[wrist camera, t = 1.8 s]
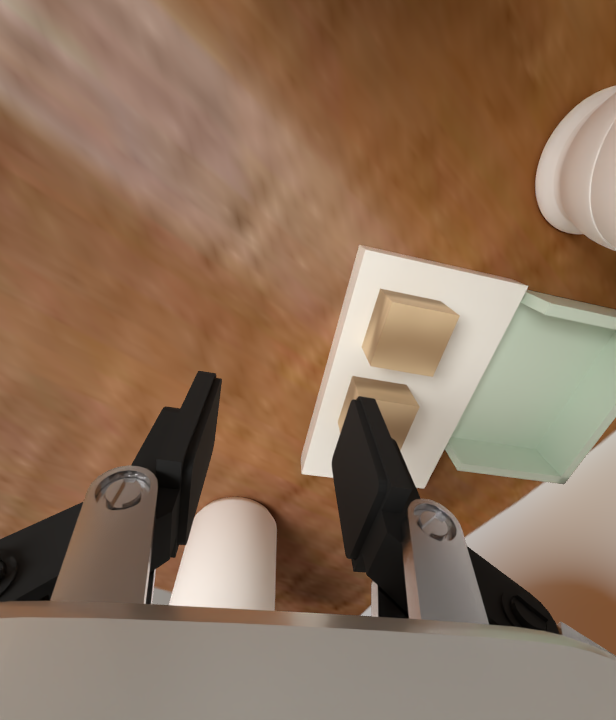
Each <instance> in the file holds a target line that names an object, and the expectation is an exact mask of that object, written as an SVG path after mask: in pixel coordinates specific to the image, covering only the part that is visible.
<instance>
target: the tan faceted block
mask: <svg viewBox="0 0 616 720" xmlns="http://www.w3.org/2000/svg"><path fill="white" fill-rule="evenodd" d="M459 317H460V315H458V314H457V313H456V312H454V311H453V310H452V309H450V308H449V307H448V306H447V305H445V304H444V303H443V302H441V301H438V300H433V299H428V298H424V297H419V296H414V295H409V294H404V293H400V292H395V291H390V290H385V289H380V291H379V294H378V297H377V300H376V303H375V306H374V309H373V313H372V316H371V319H370V322H369V325H368V328H367V331H366V335H365V338H364V341H363V344H362V349H363V351H364V353H365V356H366V358H367V360H368V362H369V364H370V366H372V367H378V368H384V369H389V370H395V371H401V372H407V373H413V374H418V375H424V376H430V377H433V376H434V373H435V371H436V369H437V367H438V364H439V362H440V360H441V357H442V355H443V353H444V351H445V348H446V346H447V344H448V342H449V339H450V337H451V335H452V333H453V330H454V328H455V326H456V323H457V321H458V319H459Z"/></svg>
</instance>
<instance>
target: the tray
mask: <svg viewBox="0 0 616 720" xmlns="http://www.w3.org/2000/svg"><path fill="white" fill-rule="evenodd" d="M615 417H616V309H611V308H607V307H602V306H598V305H593V304H589V303H584V302H580V301H575V300H571V299H566V298H562V297H558V296H553V295H549V294H544V293H540V292H535V291H531V290H526V292H525V294H524V296H523V298H522V300H521V302H520V304H519V306H518V308H517V310H516V311H515V313H514V315H513V317H512V319H511V321H510V323H509V325H508V327H507V329H506V331H505V333H504V335H503V337H502V339H501V341H500V343H499V344H498V346H497V348H496V350H495V352H494V354H493V356H492V358H491V360H490V362H489V364H488V366H487V368H486V370H485V372H484V374H483V375H482V377H481V379H480V381H479V383H478V385H477V387H476V389H475V391H474V393H473V395H472V397H471V399H470V401H469V403H468V405H467V406H466V408H465V410H464V412H463V414H462V416H461V418H460V420H459V422H458V424H457V426H456V428H455V430H454V432H453V434H452V436H451V438H450V439H449V441H448V443H447V445H446V447H445V450H446V452H447V454H448V455H449V457H450V459H451V460H452V462H453V464H454V465H455V467H456V469H457V470H458V471H466V472H474V473H481V474H489V475H497V476H505V477H512V478H520V479H528V480H535V481H543V482H552V483H559V484H565V483H566V481H567V480H568V479H569V477H570V476H571V475H572V474H573V472H574V471H575V470H576V468H577V467H578V465H579V464H580V463H581V462H582V460H583V459H584V458H585V456H586V455H587V454H588V453H589V451H590V450H591V449H592V447H593V446H594V445H595V444H596V442H597V441H598V440H599V438H600V437H601V436H602V434H603V433H604V432H605V430H606V429H607V428H608V427H609V425H610V424H611V423H612V421H613V420H614V419H615Z"/></svg>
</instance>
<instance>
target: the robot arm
mask: <svg viewBox="0 0 616 720" xmlns="http://www.w3.org/2000/svg"><path fill="white" fill-rule="evenodd" d="M221 383H222V379H219V378H216V373H209V372H203V371H198V373H197V375H196V377H195V379H194V381H193V383H192V385H191V388H190V390H189V392H188V394H187V396H186V398H185V400H184V402H183V404H182V406H181V409H179V408H172V407H164V408H163V409H162V411H161V413H160V414H159V416H158V418H157V420H156V422H155V423H154V425H153V427H152V429H151V431H150V433H149V434H148V436H147V438H146V440H145V442H144V443H143V445H142V447H141V449H140V451H139V452H138V454H137V456H136V458H135V460H134V461H133V463H132V465H131V466H122V467H117V468H114V469H111V470H109V471H107V472H105V473H103V474H102V475H100V476H99V477H97V478H96V479H95V480H94V481H93V482H92V483H91V485H90V487H89V489H88V490H87V493H86V496H85V499H84V502H82V503H80V504H78V505H75V506H73V507H71V508H69V509H66V510H64V511H62V512H60V513H58V514H55V515H53V516H51V517H49V518H47V519H44V520H42V521H40V522H38V523H36V524H33V525H31V526H29V527H27V528H24V529H22V530H20V531H18V532H16V533H13V534H11V535H9V536H7V537H5V538H2V539H0V720H616V656H615V655H613V654H612V653H610V652H609V651H607V650H605V649H604V648H602V647H601V646H599V645H597V644H596V643H594V642H593V641H591V640H590V639H588V638H586V637H585V636H583V635H581V634H580V633H578V632H577V631H575V630H574V629H572V628H570V627H569V626H567V625H566V624H564V623H562V622H560V623H559V624H558V625H556V623H555V621H554V620H553V618H552V616H551V615H550V613H549V612H548V611H547V609H546V608H545V607H544V606H543V605H542V604H541V602H539V601H538V600H537V599H536V598H535V597H533V595H531V594H530V593H529V592H527V591H526V590H525V589H523V588H522V587H521V586H519V585H518V584H517V583H515V582H514V581H513V580H511V579H510V578H509V577H507V576H506V575H505V574H503V573H502V572H501V571H499V570H498V569H497V568H495V567H494V566H493V565H491V564H490V563H489V562H487V561H486V560H485V559H483V558H482V557H481V556H479V555H478V554H477V553H475V552H474V551H473V550H471V549H470V548H469V547H467V545H466V542H465V538H464V535H463V531H462V528H461V526H460V524H459V522H458V520H457V519H456V518H455V516H454V515H453V514H452V513H451V512H450V511H449V510H448V509H447V508H445V507H444V506H442V505H440V504H439V503H437V502H434V501H432V500H428V499H421V498H420V496H419V494H418V491H417V489H416V487H415V484H414V482H413V480H412V477H411V475H410V472H409V470H408V468H407V465H406V463H405V461H404V458H403V456H402V454H401V451H400V449H399V447H398V444H397V442H396V441H395V440H394V439H393V438H391V436H390V433H389V431H388V428H387V426H386V424H385V421H384V419H383V416H382V414H381V412H380V409H379V407H378V404H377V402H376V400H375V399H374V398H368V397H362V396H358V397H357V399H356V400H354V399H353V400H352V401H351V403H350V405H349V409H348V412H347V415H346V418H345V421H344V424H343V427H342V430H341V433H340V436H339V439H338V442H337V445H336V448H335V451H334V454H333V457H332V473H333V479H334V485H335V492H336V498H337V504H338V510H339V517H340V523H341V529H342V536H343V542H344V548H345V554H346V557H347V558H348V559H352V565H353V571H354V572H366V575H367V576H369V577H370V578H371V579H372V584H371V608H372V616H355V615H338V614H321V613H303V612H286V611H268V610H250V609H232V608H212V607H193V606H174V605H154V604H152V599H153V590H154V580H155V571H156V568H158V567H159V566H161V565H162V564H164V563H165V562H167V561H168V560H169V559H170V557H173V558H175V556H176V553H177V550H178V546H179V545H186V544H187V541H188V538H189V534H190V531H191V527H192V524H193V520H194V516H195V513H196V509H197V506H198V502H199V498H200V495H201V491H202V488H203V484H204V480H205V477H206V473H207V470H208V466H209V462H210V459H211V455H212V451H213V447H214V441H215V432H216V424H217V416H218V408H219V399H220V391H221Z"/></svg>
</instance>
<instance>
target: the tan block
mask: <svg viewBox="0 0 616 720" xmlns="http://www.w3.org/2000/svg"><path fill="white" fill-rule="evenodd" d="M358 396H362V397H368V398H374V399H375V400H376V402H377V404H378V407H379V409H380V412H381V414H382V416H383V419H384V421H385V424H386V426H387V428H388V431H389V433H390V436H391V438H393V439H394V440H395V441H396V442H397V444H398V447H399V449H400V450H401V448H402V446H403V444H404V441H405V439H406V437H407V434H408V432H409V430H410V428H411V425H412V423H413V421H414V419H415V416H416V414H417V412H418V410H419V407H420V406H419V405H418V403H417V401H416V400H415V398H414V396H413V395H412V393H411V391H410V390H409V388H408V386H407V385H405V384H399V383H393V382H387V381H381V380H375V379H369V378H363V377H357V376H352V378H351V382H350V385H349V388H348V391H347V394H346V397H345V400H344V404H343V407H342V410H341V413H340V416H339V419H338V426H339V430H340V433H341V430H342V427H343V424H344V421H345V418H346V415H347V412H348V409H349V405H350V403H351V401H352V400H353V399H354V400H356V399H357V397H358Z"/></svg>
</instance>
